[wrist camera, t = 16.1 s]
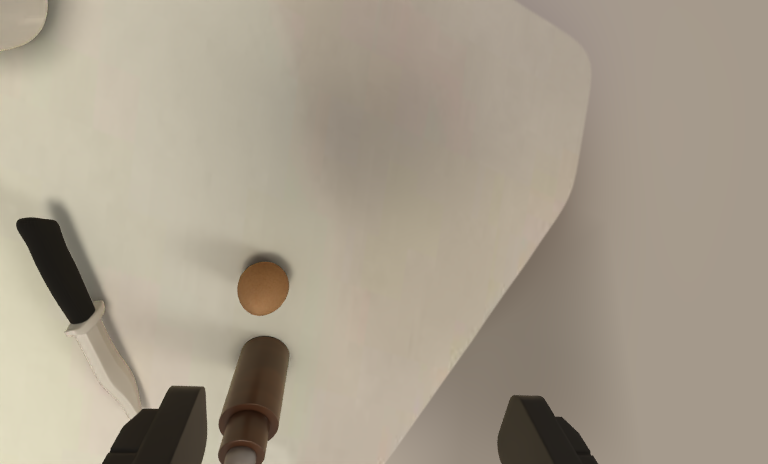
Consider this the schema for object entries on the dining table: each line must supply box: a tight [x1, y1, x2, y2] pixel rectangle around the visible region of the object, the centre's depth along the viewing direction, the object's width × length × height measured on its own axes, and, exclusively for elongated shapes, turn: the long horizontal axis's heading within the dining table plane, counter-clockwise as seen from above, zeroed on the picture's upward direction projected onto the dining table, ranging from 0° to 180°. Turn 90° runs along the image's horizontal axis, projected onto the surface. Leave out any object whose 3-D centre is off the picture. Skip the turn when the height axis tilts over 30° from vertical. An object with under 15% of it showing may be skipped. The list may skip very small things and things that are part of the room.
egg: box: [237, 262, 289, 316], centre depth 37 cm, size 4×4×6 cm
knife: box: [16, 218, 142, 420], centre depth 38 cm, size 25×2×5 cm, turn 5°
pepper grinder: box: [218, 336, 289, 464], centre depth 38 cm, size 5×5×14 cm
